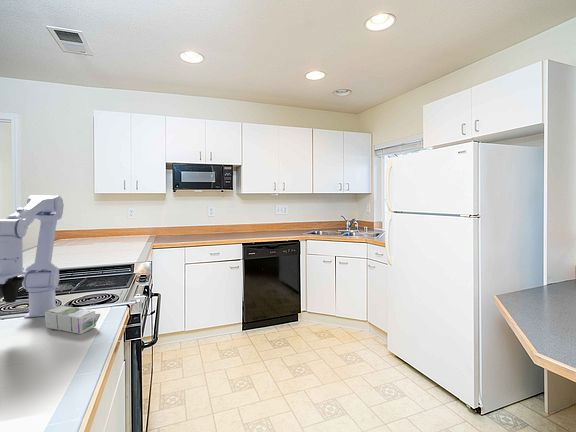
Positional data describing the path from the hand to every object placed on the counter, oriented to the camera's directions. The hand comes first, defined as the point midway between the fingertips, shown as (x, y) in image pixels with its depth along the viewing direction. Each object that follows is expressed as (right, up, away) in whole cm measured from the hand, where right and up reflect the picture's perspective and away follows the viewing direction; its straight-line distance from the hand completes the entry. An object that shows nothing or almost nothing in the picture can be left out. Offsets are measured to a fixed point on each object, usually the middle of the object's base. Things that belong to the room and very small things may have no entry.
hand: (10, 302), depth 96 cm
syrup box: (+7, -7, +8) cm, 12 cm away
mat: (+13, -10, +12) cm, 20 cm away
